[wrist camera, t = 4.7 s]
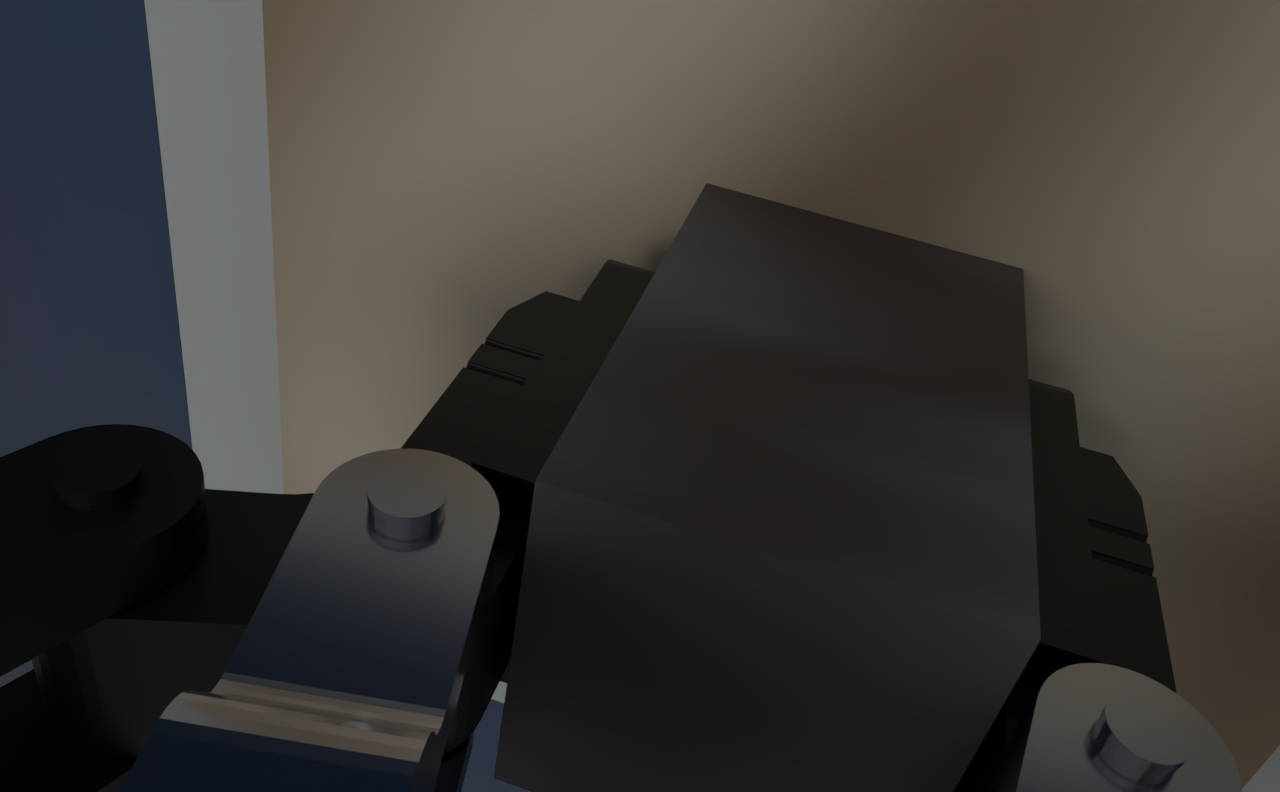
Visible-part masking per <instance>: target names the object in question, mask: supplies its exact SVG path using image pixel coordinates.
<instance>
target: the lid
mask: <svg viewBox="0 0 1280 792" xmlns="http://www.w3.org/2000/svg"><path fill="white" fill-rule="evenodd" d="M262 10H263V32H264V55H265V78H266V100H267V123H268V146H269V169H270V191H271V214H272V237H273V259H274V282H275V305H276V327H277V350H278V373H279V395H280V418H281V441H282V463H283V486H284V494H307V493H315V491H316V489H317V488H318V486H319V485H320V483H321V482H322V481H323V480H324V479H325V478H326V477H327V476H328V475H329V473H330V472H332V471H333V470H335V469H336V468H337V467H339V466H340V465H342V464H344V463H346V462H348V461H350V460H352V459H354V458H356V457H359V456H362V455H365V454H368V453H372V452H376V451H381V450H389V449H400V448H401V447H402V446H403V445H404V443H405V442H406V441H407V439H408V438H409V437H410V435H411V434H412V433H413V432H414V430H415V429H416V428H417V426H418V425H419V424H420V423H421V421H422V420H423V419H424V417H425V416H426V415H427V414H428V412H429V411H430V410H431V408H432V407H433V406H434V404H435V403H436V402H437V401H438V399H439V398H440V397H441V395H442V394H443V393H444V392H445V390H446V389H447V388H448V386H449V385H450V384H451V383H452V381H453V380H454V379H455V377H456V376H457V375H458V373H459V372H460V371H461V370H462V368H463V367H465V368H466V367H467V364H468V361H469V359H470V358H471V357H472V355H473V354H474V353H475V351H476V350H477V349H478V348H479V346H480V345H481V344H484V343H485V341H486V337H487V336H488V335H489V333H490V332H491V331H492V330H493V328H494V327H495V326H496V324H497V323H498V322H499V320H500V319H501V318H502V317H503V315H504V314H505V313H506V311H507V310H508V309H510V308H513V307H515V306H517V305H519V304H521V303H523V302H525V301H527V300H529V299H531V298H533V297H535V296H537V295H539V294H541V293H543V292H545V291H547V292H551V293H554V294H558V295H561V296H565V297H568V298H571V299H575V300H578V301H580V300H581V298H582V297H583V295H584V294H585V292H586V291H587V289H588V288H589V286H590V285H591V283H592V282H593V280H594V279H595V277H596V276H597V274H598V273H599V271H600V270H601V268H602V267H603V265H604V264H605V263H606V261H608V260H609V259H611V260H615V261H618V262H622V263H625V264H629V265H632V266H636V267H639V268H643V269H646V270H650V271H653V272H655V273H654V275H653V277H652V279H651V280H650V282H649V284H648V286H647V287H646V289H645V291H644V293H643V294H642V296H641V298H640V300H639V301H638V303H637V305H636V306H635V308H634V310H633V312H632V313H631V315H630V317H629V319H628V320H627V322H626V324H625V326H624V327H623V329H622V331H621V333H620V334H619V336H618V338H617V339H616V341H615V343H614V345H613V346H612V348H611V350H610V352H609V353H608V355H607V357H606V359H605V360H604V362H603V364H602V366H601V367H600V369H599V371H598V372H597V374H596V376H595V378H594V379H593V381H592V383H591V385H590V386H589V388H588V390H587V392H586V393H585V395H584V397H583V399H582V400H581V402H580V404H579V405H578V407H577V409H576V411H575V412H574V414H573V416H572V418H571V419H570V421H569V423H568V425H567V426H566V428H565V430H564V432H563V433H562V435H561V437H560V438H559V440H558V442H557V444H556V445H555V447H554V449H553V451H552V452H551V454H550V456H549V458H548V459H547V461H546V463H545V465H544V466H543V468H542V470H541V471H540V473H539V475H538V477H537V478H536V480H535V486H534V493H533V501H532V508H531V515H530V522H529V529H528V537H527V544H526V551H525V558H524V565H523V572H522V580H521V587H520V594H519V601H518V608H517V615H516V623H515V630H514V637H513V644H512V651H511V659H510V666H509V673H508V680H507V687H506V694H505V702H504V709H503V716H502V723H501V730H500V737H499V745H498V752H497V759H496V766H495V773H494V778H495V779H498V780H501V781H504V782H506V783H509V784H512V785H515V786H518V787H521V788H523V789H526V790H529V791H532V792H954V790H955V788H956V786H957V785H958V783H959V781H960V779H961V778H962V776H963V774H964V772H965V771H966V769H967V767H968V765H969V764H970V762H971V760H972V758H973V757H974V755H975V753H976V751H977V750H978V748H979V746H980V745H981V743H982V741H983V739H984V738H985V736H986V734H987V732H988V731H989V729H990V727H991V725H992V724H993V722H994V720H995V718H996V717H997V715H998V713H999V711H1000V710H1001V708H1002V706H1003V704H1004V703H1005V701H1006V699H1007V697H1008V696H1009V694H1010V692H1011V690H1012V689H1013V687H1014V685H1015V684H1016V682H1017V680H1018V678H1019V677H1020V675H1021V673H1022V671H1023V670H1024V668H1025V666H1026V664H1027V663H1028V661H1029V659H1030V657H1031V656H1032V654H1033V652H1034V650H1035V649H1036V647H1037V645H1038V643H1039V642H1040V640H1041V632H1040V611H1039V590H1038V569H1037V548H1036V527H1035V506H1034V485H1033V464H1032V443H1031V422H1030V401H1029V380H1028V379H1032V380H1035V381H1039V382H1042V383H1046V384H1049V385H1053V386H1056V387H1060V388H1063V389H1067V390H1070V391H1072V393H1073V395H1074V399H1075V408H1076V417H1077V426H1078V435H1079V444H1080V447H1083V448H1086V449H1090V450H1093V451H1097V452H1100V453H1104V454H1107V455H1110V456H1113V457H1114V458H1115V460H1116V461H1117V463H1118V464H1119V465H1120V467H1121V468H1122V470H1123V471H1124V473H1125V474H1126V475H1127V477H1128V478H1129V480H1130V481H1131V482H1132V484H1133V485H1134V487H1135V488H1136V490H1137V491H1138V492H1139V494H1140V495H1141V497H1142V502H1143V508H1144V513H1145V519H1146V525H1147V530H1148V539H1147V543H1148V544H1150V547H1151V552H1152V558H1153V564H1154V571H1153V575H1152V577H1156V580H1157V586H1158V591H1159V597H1160V603H1161V608H1162V614H1163V619H1164V625H1165V630H1166V636H1167V642H1168V647H1169V653H1170V658H1171V664H1172V669H1173V675H1174V681H1175V686H1176V692H1177V694H1178V695H1179V696H1181V697H1182V698H1183V699H1184V700H1186V701H1187V702H1188V703H1190V704H1191V705H1192V706H1193V707H1194V708H1195V709H1196V710H1197V711H1199V712H1200V713H1201V714H1202V715H1203V716H1204V717H1205V718H1206V719H1207V720H1208V721H1209V723H1210V724H1211V725H1212V726H1213V727H1214V728H1215V730H1216V731H1217V732H1218V733H1219V735H1220V736H1221V738H1222V739H1223V741H1224V742H1225V744H1226V745H1227V747H1228V748H1229V750H1230V752H1231V754H1232V756H1233V758H1234V760H1235V762H1236V765H1237V768H1238V772H1239V775H1240V779H1241V789H1243V788H1244V787H1245V785H1246V784H1247V783H1248V782H1249V781H1250V779H1251V778H1252V777H1253V776H1254V775H1255V774H1256V772H1257V771H1258V770H1259V769H1260V768H1261V766H1262V765H1263V764H1264V763H1265V762H1266V761H1267V759H1268V758H1269V757H1270V756H1271V755H1272V753H1273V752H1274V751H1275V750H1276V749H1277V747H1278V746H1279V745H1280V0H262Z"/></svg>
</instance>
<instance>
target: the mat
mask: <svg viewBox="0 0 1280 792" xmlns="http://www.w3.org/2000/svg"><path fill="white" fill-rule="evenodd" d="M144 1H145V10H146V20H147V29H148V38H149V48H150V57H151V66H152V76H153V85H154V94H155V103H156V113H157V122H158V131H159V141H160V150H161V159H162V169H163V178H164V187H165V197H166V206H167V215H168V224H169V234H170V243H171V252H172V262H173V271H174V280H175V290H176V299H177V308H178V318H179V327H180V336H181V345H182V355H183V364H184V373H185V383H186V392H187V401H188V411H189V420H190V429H191V438H192V448H193V451H194V452H195V453H196V455H197V457H198V459H199V460H200V462H201V465H202V469H203V473H204V483H205V489H214V490H228V491H243V492H258V493H273V494H284V486H283V463H282V441H281V418H280V395H279V373H278V350H277V327H276V305H275V282H274V259H273V237H272V214H271V191H270V169H269V146H268V123H267V100H266V78H265V55H264V32H263V10H262V0H144ZM506 687H507V683H504V682H502V681H500V682H499V684H498V686H497V688H496V690H495V692H494V694H493V696H492V698H491V699H493V700H496V701H499V702H502V703H504V702H505V694H506ZM1242 792H1280V745H1279V746H1278V747H1277V749H1276V750H1275V751H1274V752H1273V753H1272V755H1271V756H1270V757H1269V758H1268V759H1267V761H1266V762H1265V763H1264V764H1263V765H1262V766H1261V768H1260V769H1259V770H1258V771H1257V772H1256V774H1255V775H1254V776H1253V777H1252V778H1251V779H1250V781H1249V782H1248V783H1247V784H1246V785H1245V787H1244V788H1243V789H1242Z"/></svg>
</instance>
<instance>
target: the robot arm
mask: <svg viewBox="0 0 1280 792" xmlns="http://www.w3.org/2000/svg"><path fill="white" fill-rule="evenodd" d="M654 273H655V272H653V271H650V270H646V269H643V268H639V267H636V266H632V265H629V264H625V263H622V262H618V261H615V260H611V259H609V260H608V261H606V263H605V264H604V265H603V267H602V268H601V270H600V271H599V273H598V274H597V276H596V277H595V279H594V280H593V282H592V283H591V285H590V286H589V288H588V289H587V291H586V292H585V294H584V295H583V297H582V298H581V300H580V301H578V300H575V299H571V298H568V297H565V296H561V295H558V294H554V293H551V292H547V291H545V292H543V293H541V294H539V295H537V296H535V297H533V298H531V299H529V300H527V301H525V302H523V303H521V304H519V305H517V306H515V307H513V308H510V309H508V310H507V311H506V313H505V314H504V315H503V317H502V318H501V319H500V320H499V322H498V323H497V324H496V326H495V327H494V328H493V330H492V331H491V332H490V333H489V335H488V336H487V337H486V341H485V343H484V344H481V345H480V346H479V348H478V349H477V350H476V351H475V353H474V354H473V355H472V357H471V358H470V359H469V361H468V364H467V367H466V368H465V367H463V368H462V370H461V371H460V372H459V373H458V375H457V376H456V377H455V379H454V380H453V381H452V383H451V384H450V385H449V386H448V388H447V389H446V390H445V392H444V393H443V394H442V395H441V397H440V398H439V399H438V401H437V402H436V403H435V404H434V406H433V407H432V408H431V410H430V411H429V412H428V414H427V415H426V416H425V417H424V419H423V420H422V421H421V423H420V424H419V425H418V426H417V428H416V429H415V430H414V432H413V433H412V434H411V435H410V437H409V438H408V439H407V441H406V442H405V443H404V445H403V446H402V447H401V448H400V449H389V450H381V451H376V452H372V453H368V454H365V455H362V456H359V457H356V458H354V459H352V460H350V461H348V462H346V463H344V464H342V465H340V466H339V467H337V468H336V469H335V470H333V471H332V472H330V473H329V475H328V476H327V477H326V478H325V479H324V480H323V481H322V482H321V483H320V485H319V486H318V488H317V489H316V491H315V493H307V494H273V493H258V492H243V491H228V490H214V489H205V483H204V473H203V469H202V465H201V462H200V460H199V459H198V457H197V455H196V453H195V452H194V451H193V450H192V449H191V448H190V447H189V446H188V445H187V444H185V443H184V442H182V441H181V440H179V439H178V438H176V437H174V436H172V435H170V434H167V433H165V432H162V431H159V430H155V429H152V428H148V427H141V426H135V425H119V424H115V425H98V426H91V427H84V428H79V429H75V430H71V431H67V432H63V433H61V434H58V435H55V436H52V437H49V438H47V439H44V440H42V441H39V442H37V443H34V444H32V445H30V446H27V447H25V448H22V449H20V450H17V451H15V452H13V453H10V454H8V455H5V456H3V457H0V676H2V675H4V674H6V673H8V672H10V671H11V670H13V669H15V668H17V667H19V666H20V665H22V664H24V663H26V662H28V661H30V660H32V664H33V667H34V669H33V670H31V671H29V672H28V673H26V674H24V675H22V676H20V677H19V678H17V679H15V680H13V681H11V682H10V683H8V684H6V685H4V686H2V687H1V688H0V792H461V791H462V786H463V782H464V778H465V774H466V770H467V766H468V762H469V758H470V754H471V750H472V745H473V738H474V730H475V728H476V727H477V725H478V723H479V722H480V720H481V718H482V716H483V714H484V712H485V710H486V708H487V706H488V704H489V702H490V700H491V698H492V696H493V694H494V692H495V690H496V688H497V686H498V684H499V682H500V681H502V682H504V683H507V680H508V673H509V666H510V659H511V651H512V644H513V637H514V630H515V623H516V615H517V608H518V601H519V594H520V587H521V580H522V572H523V565H524V558H525V551H526V544H527V537H528V529H529V522H530V515H531V508H532V501H533V493H534V486H535V480H536V478H537V477H538V475H539V473H540V471H541V470H542V468H543V466H544V465H545V463H546V461H547V459H548V458H549V456H550V454H551V452H552V451H553V449H554V447H555V445H556V444H557V442H558V440H559V438H560V437H561V435H562V433H563V432H564V430H565V428H566V426H567V425H568V423H569V421H570V419H571V418H572V416H573V414H574V412H575V411H576V409H577V407H578V405H579V404H580V402H581V400H582V399H583V397H584V395H585V393H586V392H587V390H588V388H589V386H590V385H591V383H592V381H593V379H594V378H595V376H596V374H597V372H598V371H599V369H600V367H601V366H602V364H603V362H604V360H605V359H606V357H607V355H608V353H609V352H610V350H611V348H612V346H613V345H614V343H615V341H616V339H617V338H618V336H619V334H620V333H621V331H622V329H623V327H624V326H625V324H626V322H627V320H628V319H629V317H630V315H631V313H632V312H633V310H634V308H635V306H636V305H637V303H638V301H639V300H640V298H641V296H642V294H643V293H644V291H645V289H646V287H647V286H648V284H649V282H650V280H651V279H652V277H653V275H654ZM1028 380H1029V401H1030V422H1031V443H1032V464H1033V485H1034V506H1035V527H1036V548H1037V569H1038V590H1039V611H1040V632H1041V640H1040V642H1039V643H1038V645H1037V647H1036V649H1035V650H1034V652H1033V654H1032V656H1031V657H1030V659H1029V661H1028V663H1027V664H1026V666H1025V668H1024V670H1023V671H1022V673H1021V675H1020V677H1019V678H1018V680H1017V682H1016V684H1015V685H1014V687H1013V689H1012V690H1011V692H1010V694H1009V696H1008V697H1007V699H1006V701H1005V703H1004V704H1003V706H1002V708H1001V710H1000V711H999V713H998V715H997V717H996V718H995V720H994V722H993V724H992V725H991V727H990V729H989V731H988V732H987V734H986V736H985V738H984V739H983V741H982V743H981V745H980V746H979V748H978V750H977V751H976V753H975V755H974V757H973V758H972V760H971V762H970V764H969V765H968V767H967V769H966V771H965V772H964V774H963V776H962V778H961V779H960V781H959V783H958V785H957V786H956V788H955V790H954V792H1242V789H1241V779H1240V775H1239V772H1238V768H1237V765H1236V762H1235V760H1234V758H1233V756H1232V754H1231V752H1230V750H1229V748H1228V747H1227V745H1226V744H1225V742H1224V741H1223V739H1222V738H1221V736H1220V735H1219V733H1218V732H1217V731H1216V730H1215V728H1214V727H1213V726H1212V725H1211V724H1210V723H1209V721H1208V720H1207V719H1206V718H1205V717H1204V716H1203V715H1202V714H1201V713H1200V712H1199V711H1197V710H1196V709H1195V708H1194V707H1193V706H1192V705H1191V704H1190V703H1188V702H1187V701H1186V700H1184V699H1183V698H1182V697H1181V696H1179V695H1178V694H1177V692H1176V686H1175V681H1174V675H1173V669H1172V664H1171V658H1170V653H1169V647H1168V642H1167V636H1166V630H1165V625H1164V619H1163V614H1162V608H1161V603H1160V597H1159V591H1158V586H1157V580H1156V577H1152V575H1153V571H1154V564H1153V558H1152V552H1151V547H1150V544H1148V543H1147V539H1148V530H1147V525H1146V519H1145V513H1144V508H1143V502H1142V497H1141V495H1140V494H1139V492H1138V491H1137V490H1136V488H1135V487H1134V485H1133V484H1132V482H1131V481H1130V480H1129V478H1128V477H1127V475H1126V474H1125V473H1124V471H1123V470H1122V468H1121V467H1120V465H1119V464H1118V463H1117V461H1116V460H1115V458H1114V457H1113V456H1110V455H1107V454H1104V453H1100V452H1097V451H1093V450H1090V449H1086V448H1083V447H1080V444H1079V435H1078V426H1077V417H1076V408H1075V399H1074V395H1073V393H1072V391H1070V390H1067V389H1063V388H1060V387H1056V386H1053V385H1049V384H1046V383H1042V382H1039V381H1035V380H1032V379H1028Z"/></svg>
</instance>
